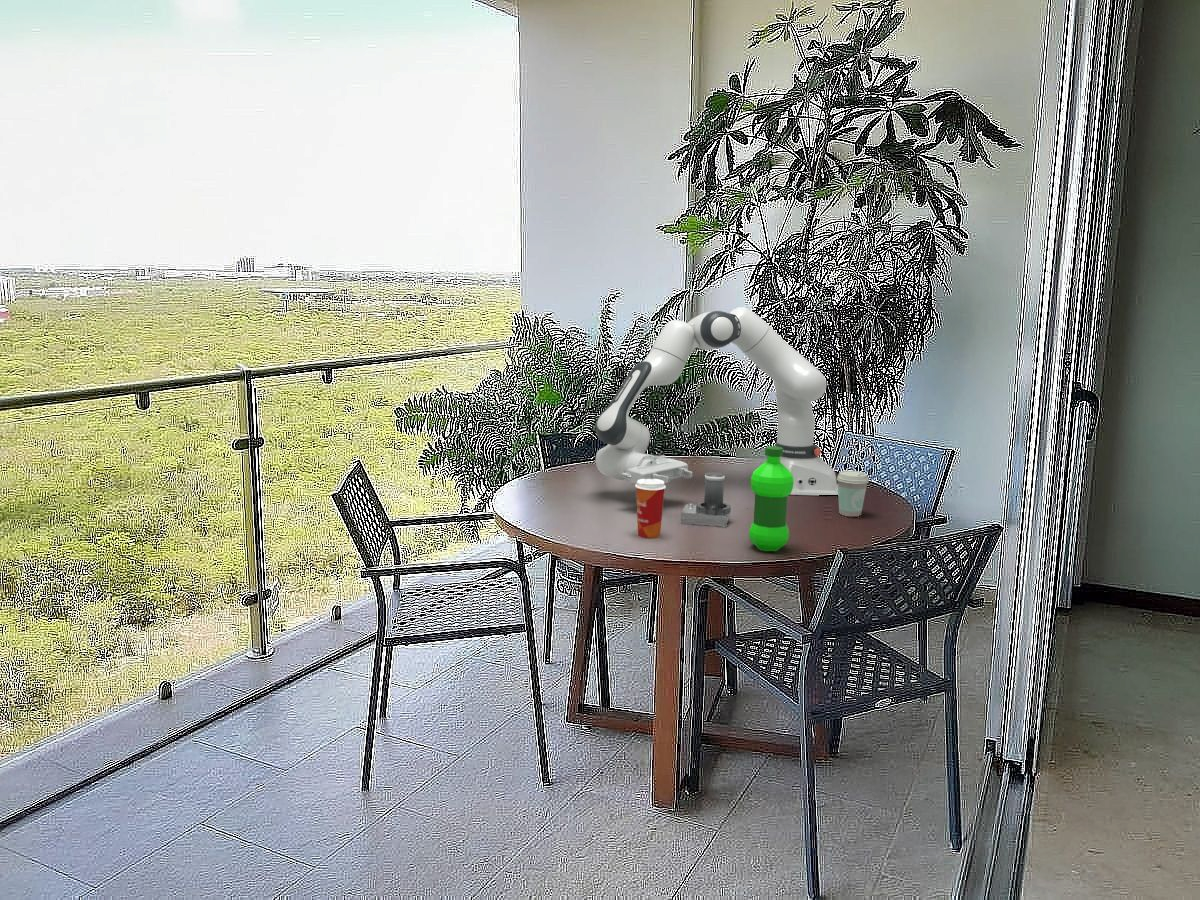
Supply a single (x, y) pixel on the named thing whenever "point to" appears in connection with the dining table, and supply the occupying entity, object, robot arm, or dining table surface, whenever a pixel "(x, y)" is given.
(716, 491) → the lens
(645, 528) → the paper cup
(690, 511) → the camera body
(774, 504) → the plastic bottle
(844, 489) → the coffee cup
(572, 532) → the dining table surface
